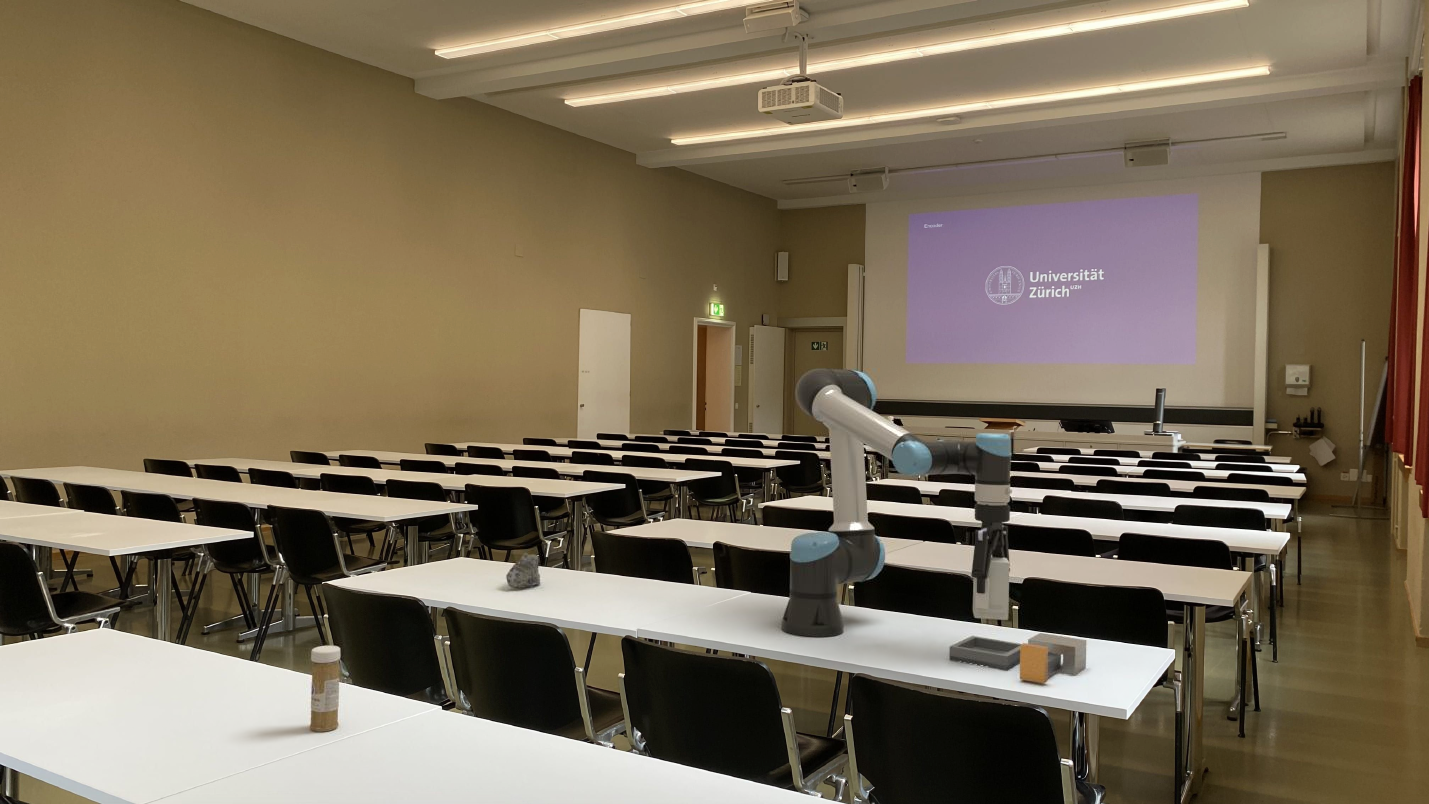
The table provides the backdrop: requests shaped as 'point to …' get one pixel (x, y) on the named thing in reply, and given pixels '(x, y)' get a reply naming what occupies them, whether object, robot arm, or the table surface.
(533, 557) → the mineral rock
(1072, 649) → the pin mount
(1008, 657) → the cradle
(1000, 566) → the supplement box
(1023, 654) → the lock pin
